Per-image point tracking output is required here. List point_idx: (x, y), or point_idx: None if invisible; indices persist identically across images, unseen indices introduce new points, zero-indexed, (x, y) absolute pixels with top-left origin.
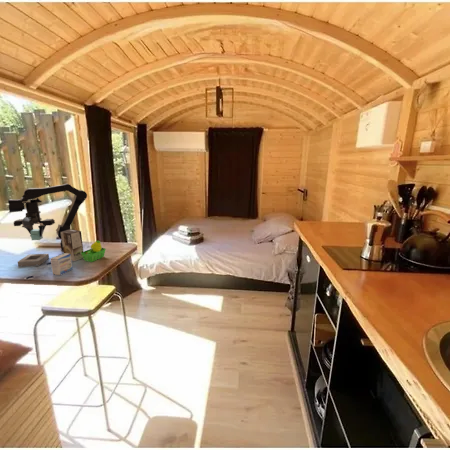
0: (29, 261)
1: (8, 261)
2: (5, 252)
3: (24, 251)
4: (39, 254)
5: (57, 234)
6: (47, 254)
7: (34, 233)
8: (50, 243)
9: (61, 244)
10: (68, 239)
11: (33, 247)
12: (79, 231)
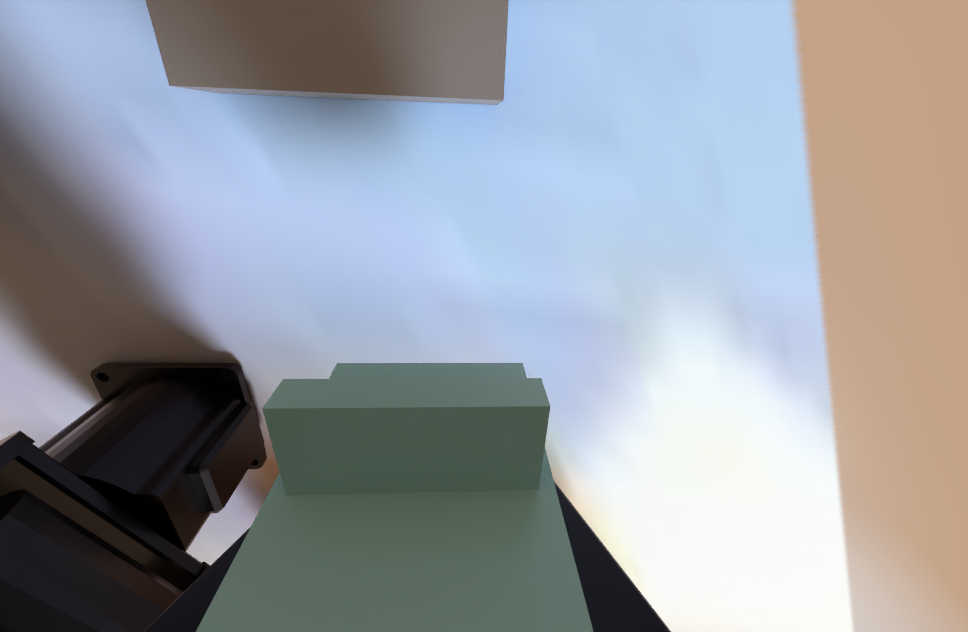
0: None
1: (743, 19)
2: (819, 380)
3: (645, 388)
4: (310, 59)
5: (16, 605)
6: (157, 35)
7: (414, 543)
8: None
9: (197, 441)
10: None
11: (596, 484)
12: None
